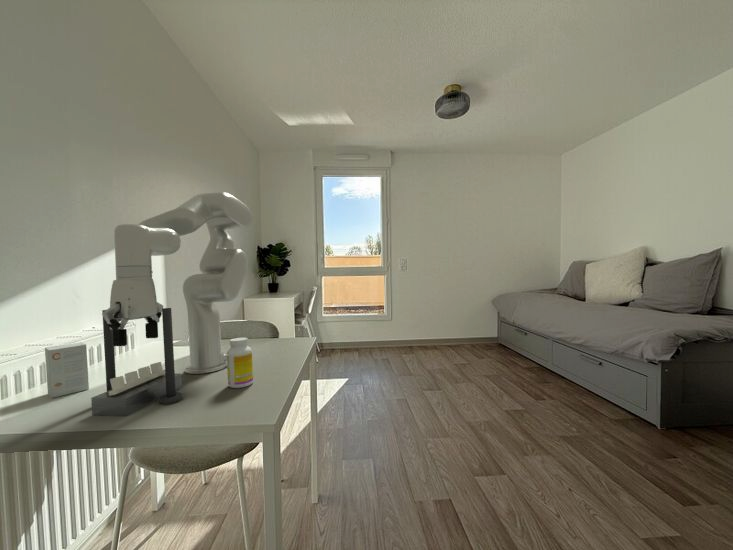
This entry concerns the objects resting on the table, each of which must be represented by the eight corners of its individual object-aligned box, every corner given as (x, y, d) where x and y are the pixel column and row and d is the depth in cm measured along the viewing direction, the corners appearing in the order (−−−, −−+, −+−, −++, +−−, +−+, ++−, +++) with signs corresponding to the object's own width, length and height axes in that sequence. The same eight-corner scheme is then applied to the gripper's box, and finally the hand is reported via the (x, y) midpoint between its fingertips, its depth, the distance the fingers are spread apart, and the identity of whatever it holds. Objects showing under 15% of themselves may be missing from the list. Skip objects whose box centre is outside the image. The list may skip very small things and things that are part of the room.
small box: (84, 385, 100) (82, 341, 99) (89, 389, 95) (86, 344, 95) (46, 393, 93) (44, 347, 93) (50, 398, 89) (47, 350, 89)
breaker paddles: (160, 374, 93) (157, 362, 94) (167, 372, 93) (164, 360, 93) (107, 396, 78) (104, 381, 78) (116, 394, 77) (113, 379, 77)
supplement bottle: (258, 382, 96) (256, 337, 96) (240, 390, 90) (238, 342, 90) (241, 379, 99) (238, 336, 99) (222, 387, 93) (220, 341, 92)
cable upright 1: (123, 394, 90) (119, 308, 90) (124, 399, 86) (119, 309, 86) (100, 399, 87) (95, 310, 87) (99, 405, 83) (94, 311, 83)
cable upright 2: (181, 395, 88) (176, 306, 87) (184, 400, 84) (179, 308, 83) (158, 400, 85) (153, 308, 84) (160, 406, 81) (155, 310, 80)
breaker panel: (153, 387, 95) (152, 373, 95) (181, 387, 94) (181, 373, 94) (92, 415, 77) (91, 397, 77) (126, 416, 76) (125, 398, 76)
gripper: (148, 274, 94) (150, 335, 94) (88, 274, 77) (91, 349, 77) (172, 273, 93) (174, 335, 93) (117, 273, 76) (120, 349, 76)
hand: (137, 341), depth 85 cm, fingers open, 9 cm apart
